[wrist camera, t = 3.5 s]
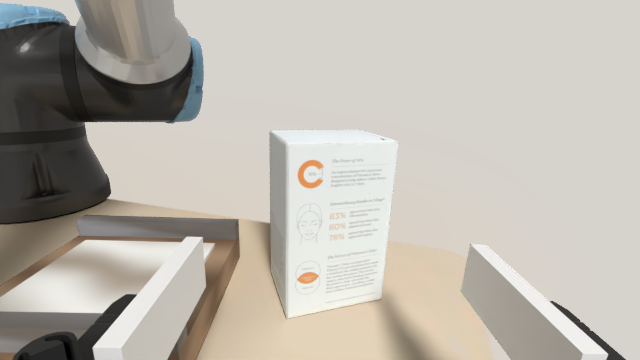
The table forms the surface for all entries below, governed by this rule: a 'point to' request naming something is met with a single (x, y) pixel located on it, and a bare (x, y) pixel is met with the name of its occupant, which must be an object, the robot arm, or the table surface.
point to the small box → (329, 216)
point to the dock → (114, 277)
